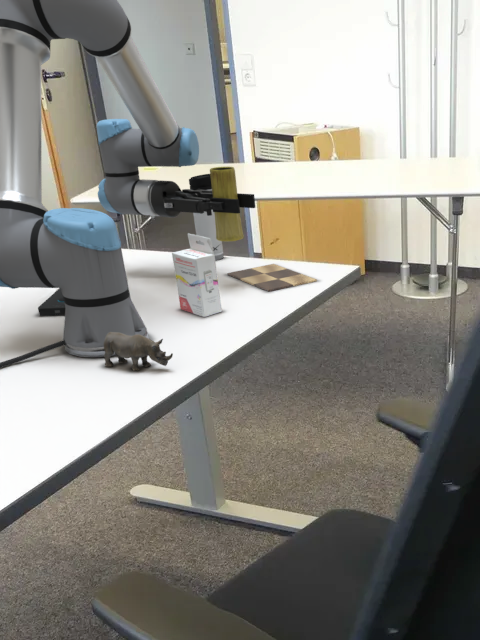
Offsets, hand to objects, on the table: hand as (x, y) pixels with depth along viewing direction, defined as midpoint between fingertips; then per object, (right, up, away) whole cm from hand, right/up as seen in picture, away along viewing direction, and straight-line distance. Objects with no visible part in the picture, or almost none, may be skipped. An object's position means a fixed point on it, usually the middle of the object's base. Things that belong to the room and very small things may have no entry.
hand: (246, 203), depth 163 cm
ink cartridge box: (-9, -24, -4) cm, 26 cm away
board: (+4, -10, +16) cm, 20 cm away
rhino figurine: (-14, -42, -31) cm, 54 cm away
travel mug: (-14, +1, +34) cm, 37 cm away
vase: (-4, -5, +6) cm, 9 cm away
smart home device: (-39, -20, +5) cm, 44 cm away
